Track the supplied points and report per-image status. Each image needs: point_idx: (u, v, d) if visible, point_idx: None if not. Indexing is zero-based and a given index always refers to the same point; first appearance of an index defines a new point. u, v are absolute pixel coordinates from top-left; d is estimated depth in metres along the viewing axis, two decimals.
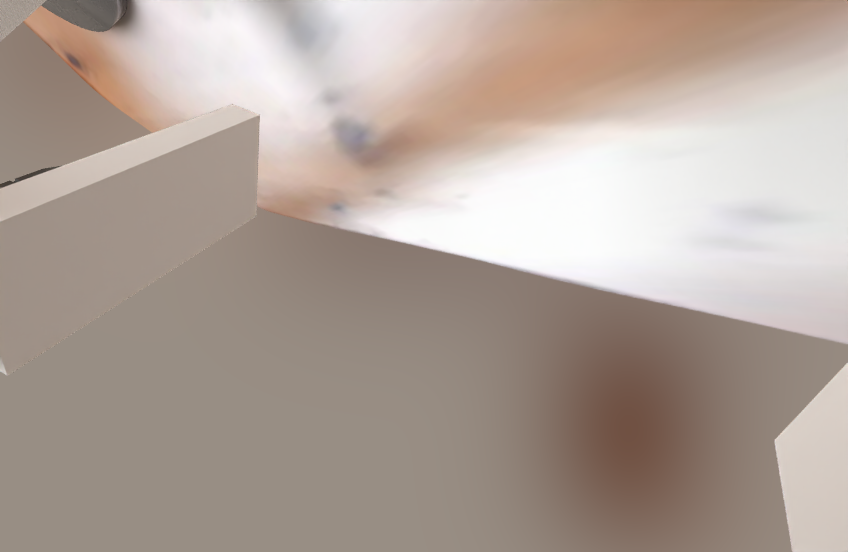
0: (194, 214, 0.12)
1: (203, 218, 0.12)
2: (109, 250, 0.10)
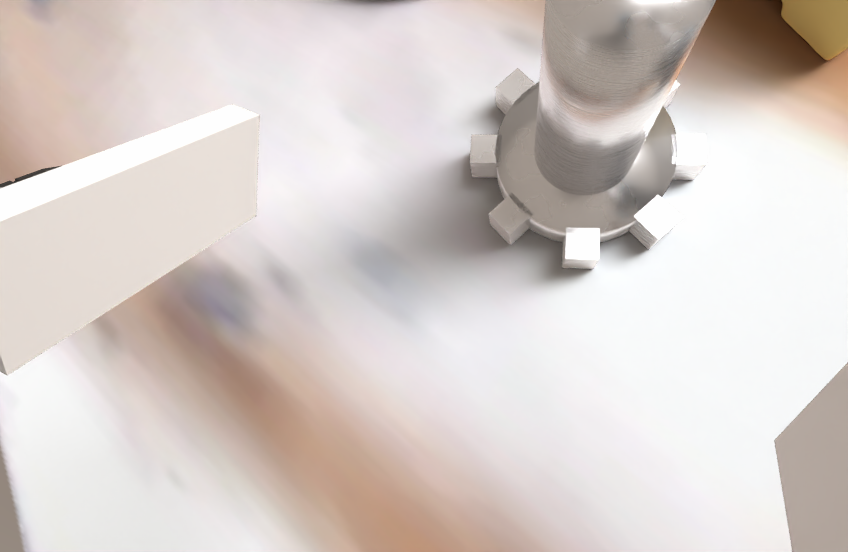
0: (194, 214, 0.12)
1: (203, 218, 0.12)
2: (109, 250, 0.10)
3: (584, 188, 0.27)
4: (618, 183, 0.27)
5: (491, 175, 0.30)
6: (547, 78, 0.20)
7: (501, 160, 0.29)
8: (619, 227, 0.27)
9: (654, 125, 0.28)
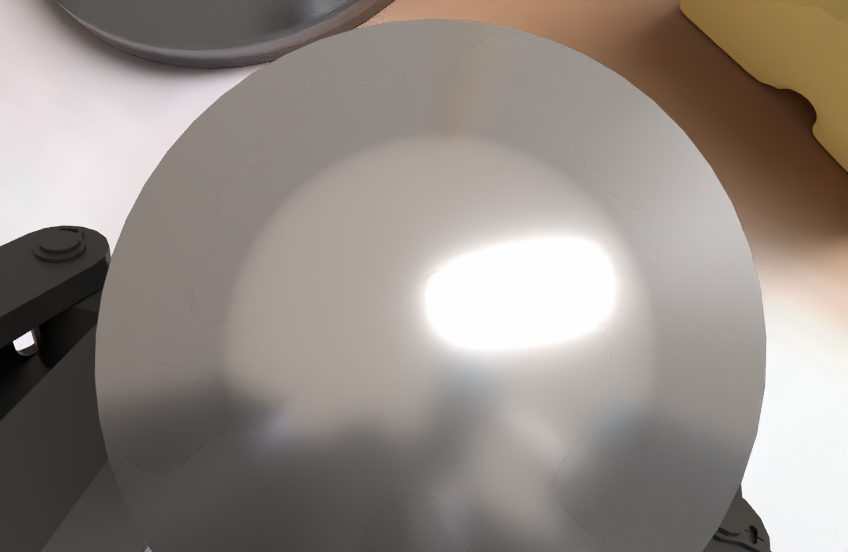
0: None
1: None
2: None
3: None
4: None
5: None
6: None
7: None
8: None
9: None
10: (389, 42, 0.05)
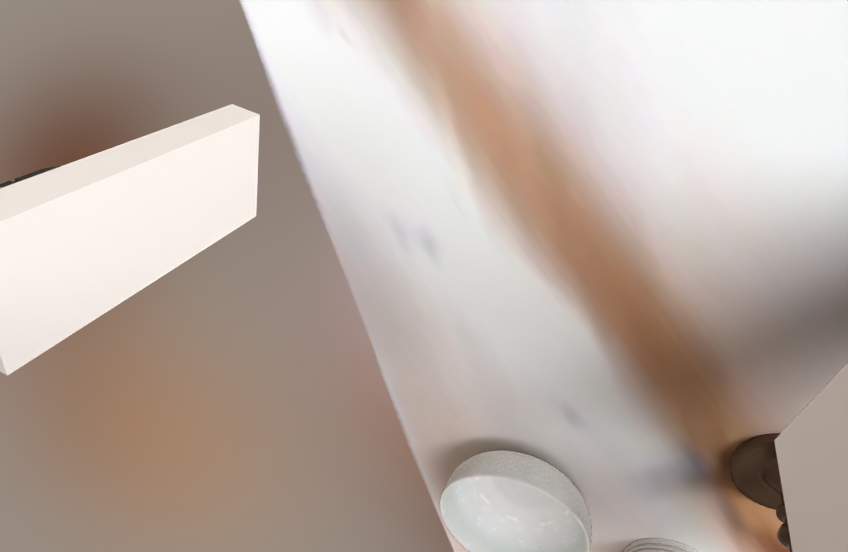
0: (194, 214, 0.12)
1: (203, 218, 0.12)
2: (109, 250, 0.10)
3: None
4: None
5: None
6: None
7: None
8: None
9: None
10: None
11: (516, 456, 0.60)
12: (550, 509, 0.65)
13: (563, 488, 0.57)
